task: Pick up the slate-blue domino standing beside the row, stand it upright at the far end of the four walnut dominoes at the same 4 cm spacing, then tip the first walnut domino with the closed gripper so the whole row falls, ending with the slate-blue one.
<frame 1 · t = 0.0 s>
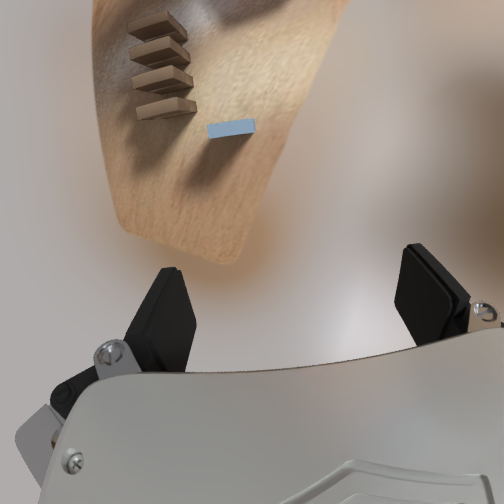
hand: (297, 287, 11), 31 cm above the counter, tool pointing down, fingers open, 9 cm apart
domino 4: (180, 110, 35), on the counter
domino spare: (237, 126, 36), on the counter
domino 3: (176, 85, 33), on the counter
domino 2: (173, 62, 31), on the counter
domino 1: (171, 40, 29), on the counter
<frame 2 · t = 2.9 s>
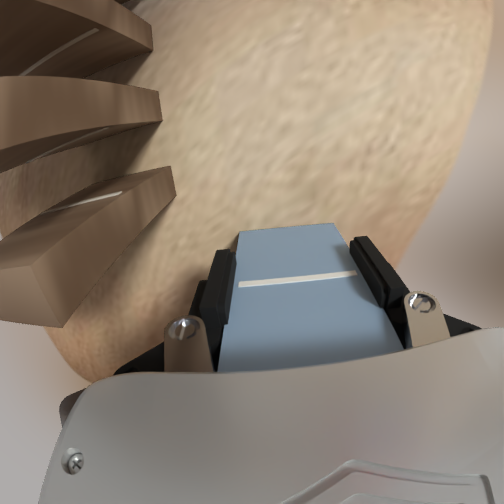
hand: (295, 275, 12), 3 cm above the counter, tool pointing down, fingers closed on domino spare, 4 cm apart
domino 4: (131, 188, 13), on the counter
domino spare: (288, 240, 15), on the counter, touching gripper
domino 3: (117, 118, 12), on the counter
domino 2: (110, 53, 10), on the counter
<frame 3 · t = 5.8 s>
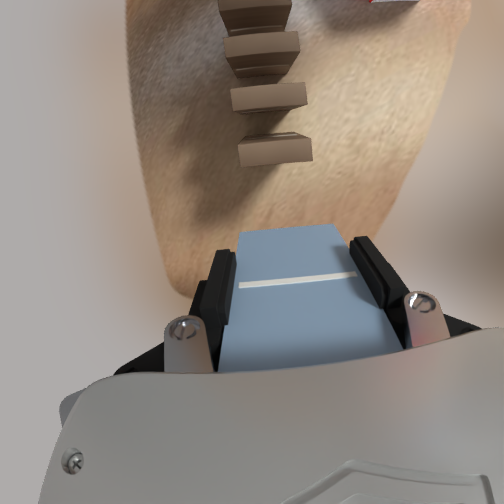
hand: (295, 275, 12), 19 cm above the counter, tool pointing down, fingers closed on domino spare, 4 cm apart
domino 4: (270, 141, 27), on the counter
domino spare: (288, 241, 15), point 15 cm above the counter, touching gripper
domino 3: (265, 104, 25), on the counter
domino 2: (261, 68, 23), on the counter
domino 1: (256, 35, 21), on the counter
when the fingers open (4 cm above the counter, at t = 8.7 s): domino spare stays where it is, on the counter.
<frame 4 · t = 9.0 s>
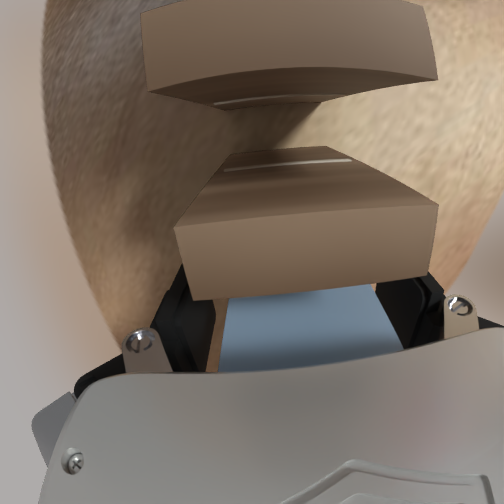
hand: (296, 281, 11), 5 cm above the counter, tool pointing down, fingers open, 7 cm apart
domino 4: (280, 164, 14), on the counter
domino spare: (286, 234, 16), on the counter
domino 3: (271, 89, 12), on the counter
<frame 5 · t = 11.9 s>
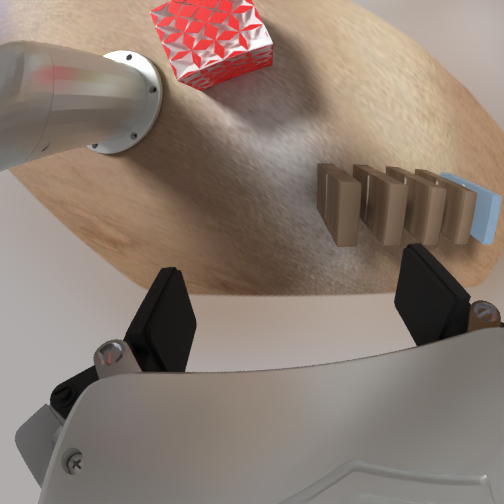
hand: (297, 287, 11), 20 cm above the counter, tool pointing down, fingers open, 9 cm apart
domino 4: (419, 189, 27), on the counter
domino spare: (443, 191, 27), on the counter
red patterned cube: (223, 47, 22), on the counter
domino 3: (390, 188, 28), on the counter
domino 2: (359, 186, 28), on the counter
domino 1: (324, 186, 28), on the counter
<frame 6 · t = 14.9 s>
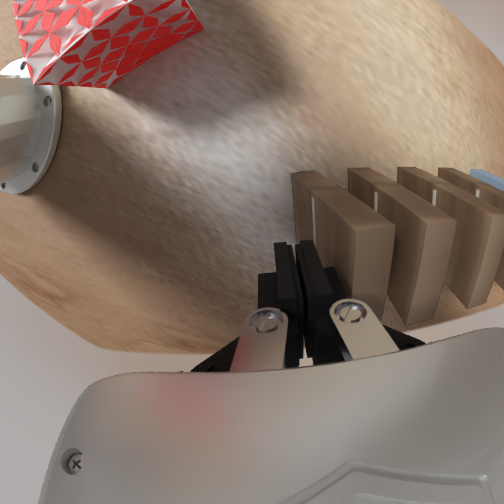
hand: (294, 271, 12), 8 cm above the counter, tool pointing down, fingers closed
domino 4: (443, 197, 18), on the counter
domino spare: (474, 196, 17), on the counter
red patterned cube: (134, 21, 12), on the counter
domino 3: (405, 199, 18), on the counter
domino 2: (358, 201, 18), on the counter
domino 1: (305, 206, 19), on the counter, tilted 6°, touching gripper
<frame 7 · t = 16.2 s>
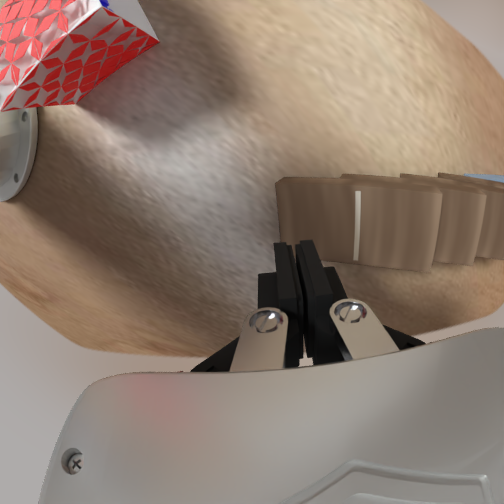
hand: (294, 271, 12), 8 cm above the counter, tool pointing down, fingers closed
domino 4: (437, 206, 17), point 1 cm above the counter, tilted 64°, touching domino 3, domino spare
red patterned cube: (98, 37, 13), on the counter
domino 3: (399, 209, 17), point 1 cm above the counter, tilted 64°, touching domino 2, domino 4
domino 2: (341, 212, 18), point 1 cm above the counter, tilted 66°, touching domino 1, domino 3
domino 1: (283, 216, 18), point 1 cm above the counter, tilted 66°, touching domino 2
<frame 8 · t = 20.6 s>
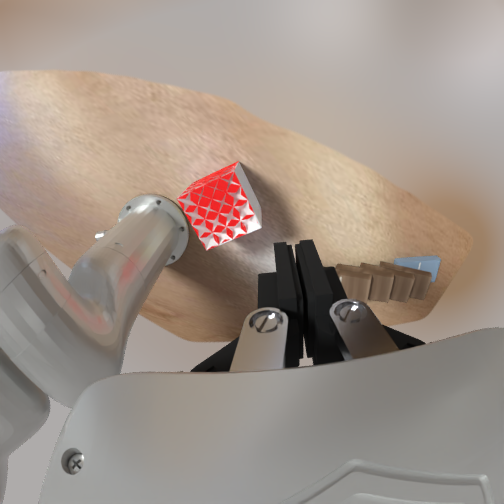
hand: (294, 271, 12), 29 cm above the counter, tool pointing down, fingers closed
domino 4: (377, 275, 45), point 1 cm above the counter, tilted 65°, touching domino 3, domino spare
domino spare: (393, 272, 45), point 1 cm above the counter, tilted 89°, touching domino 4
red patterned cube: (226, 195, 40), on the counter
domino 3: (357, 277, 45), point 1 cm above the counter, tilted 65°, touching domino 2, domino 4
domino 2: (335, 278, 45), point 1 cm above the counter, tilted 65°, touching domino 1, domino 3
domino 1: (311, 280, 46), point 1 cm above the counter, tilted 66°, touching domino 2
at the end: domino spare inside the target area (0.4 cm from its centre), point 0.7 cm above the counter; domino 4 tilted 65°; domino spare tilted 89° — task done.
